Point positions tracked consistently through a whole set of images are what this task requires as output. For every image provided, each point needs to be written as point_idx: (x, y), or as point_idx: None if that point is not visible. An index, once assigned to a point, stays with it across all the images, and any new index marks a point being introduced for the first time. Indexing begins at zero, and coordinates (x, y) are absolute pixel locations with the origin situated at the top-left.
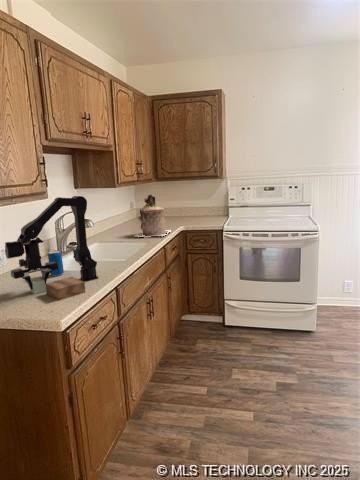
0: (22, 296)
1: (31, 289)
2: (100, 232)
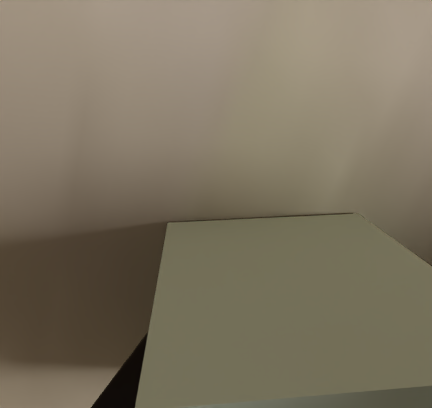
0: (15, 354)
1: None
2: None
